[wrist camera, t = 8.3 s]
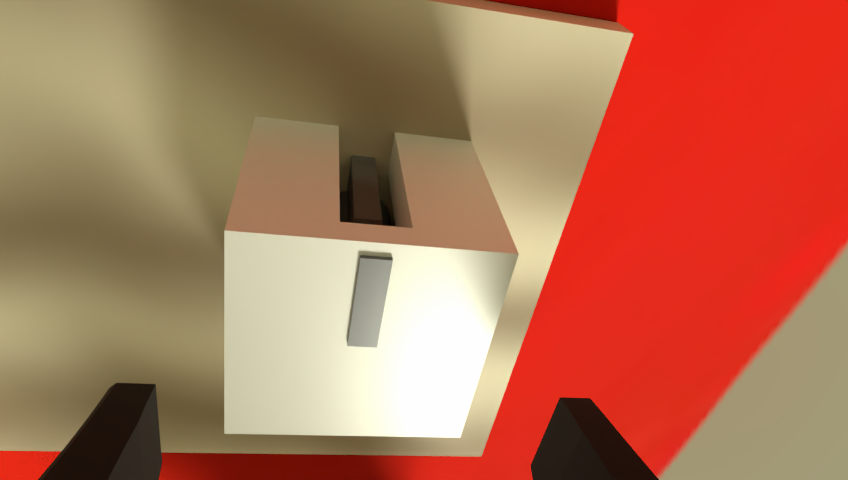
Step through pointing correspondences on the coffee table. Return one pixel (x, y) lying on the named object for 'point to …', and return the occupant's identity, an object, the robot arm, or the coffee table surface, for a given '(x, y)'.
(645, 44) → the coffee table surface
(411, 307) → the slotted white block
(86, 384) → the board
